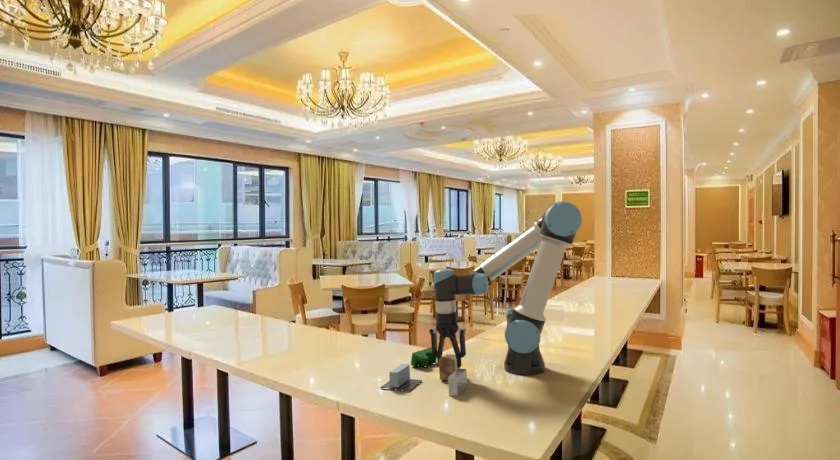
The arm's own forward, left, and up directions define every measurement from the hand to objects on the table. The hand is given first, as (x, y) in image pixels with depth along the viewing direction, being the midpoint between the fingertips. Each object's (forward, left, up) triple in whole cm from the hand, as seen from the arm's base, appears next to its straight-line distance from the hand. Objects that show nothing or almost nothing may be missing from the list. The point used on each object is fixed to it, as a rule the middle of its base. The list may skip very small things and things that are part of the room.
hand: (450, 375), depth 164 cm
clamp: (+15, -13, -1) cm, 20 cm away
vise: (+6, +12, -1) cm, 14 cm away
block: (0, 0, 0) cm, 0 cm away
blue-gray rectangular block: (+14, +12, -1) cm, 19 cm away
